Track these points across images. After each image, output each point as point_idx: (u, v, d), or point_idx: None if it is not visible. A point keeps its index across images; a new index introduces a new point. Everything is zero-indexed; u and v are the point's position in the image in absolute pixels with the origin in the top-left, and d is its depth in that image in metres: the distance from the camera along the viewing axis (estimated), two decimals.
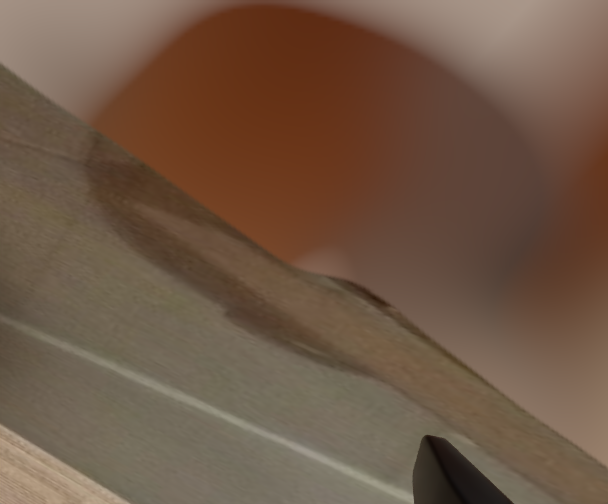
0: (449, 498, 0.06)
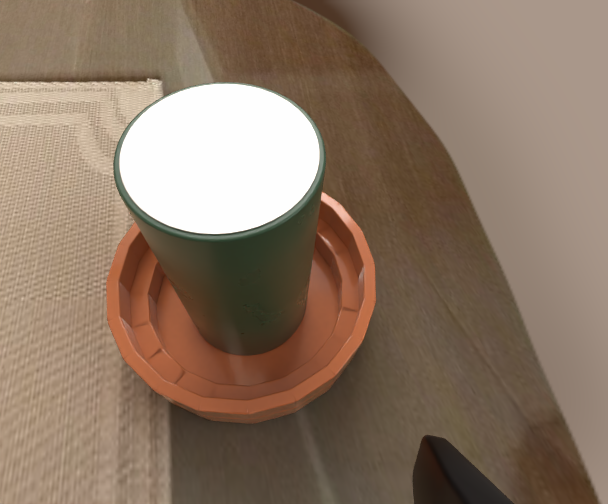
0: (449, 498, 0.06)
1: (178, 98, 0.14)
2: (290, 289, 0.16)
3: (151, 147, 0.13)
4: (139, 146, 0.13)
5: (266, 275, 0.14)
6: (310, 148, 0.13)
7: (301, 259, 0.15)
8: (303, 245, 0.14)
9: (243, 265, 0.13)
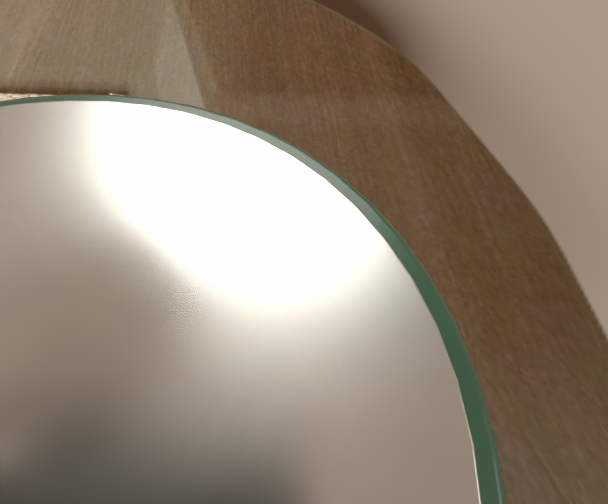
0: None
1: None
2: None
3: None
4: None
5: None
6: (427, 431, 0.03)
7: None
8: None
9: None
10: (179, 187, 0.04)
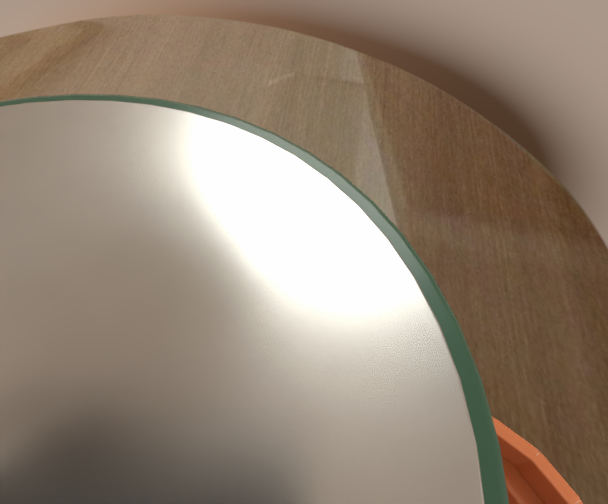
0: None
1: None
2: None
3: None
4: None
5: None
6: (429, 430, 0.03)
7: None
8: None
9: None
10: (181, 186, 0.04)
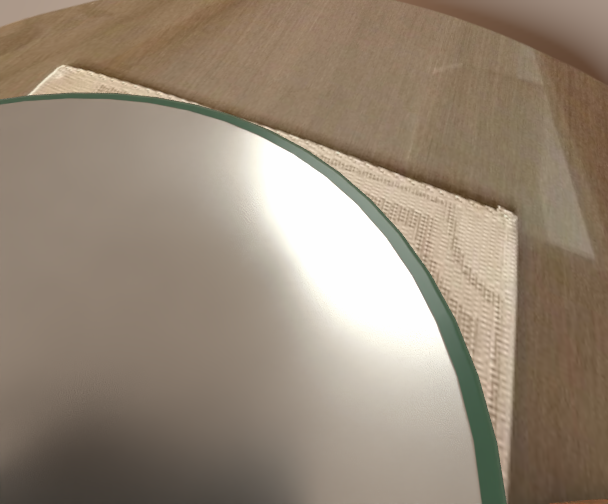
0: None
1: None
2: None
3: None
4: None
5: None
6: (426, 427, 0.03)
7: None
8: None
9: None
10: (179, 185, 0.04)
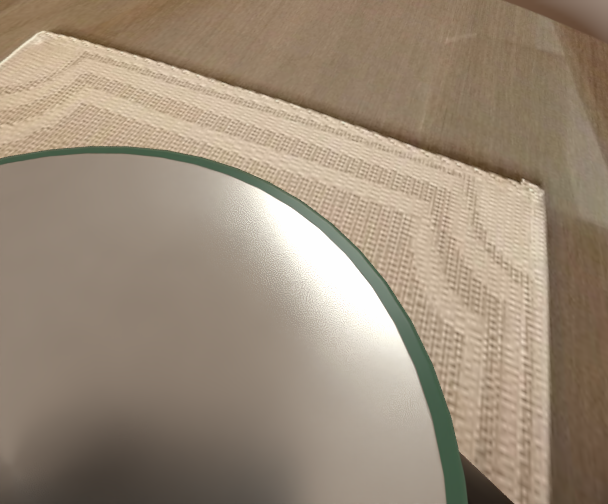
0: None
1: None
2: None
3: None
4: None
5: None
6: (404, 464, 0.03)
7: None
8: None
9: None
10: (188, 238, 0.04)
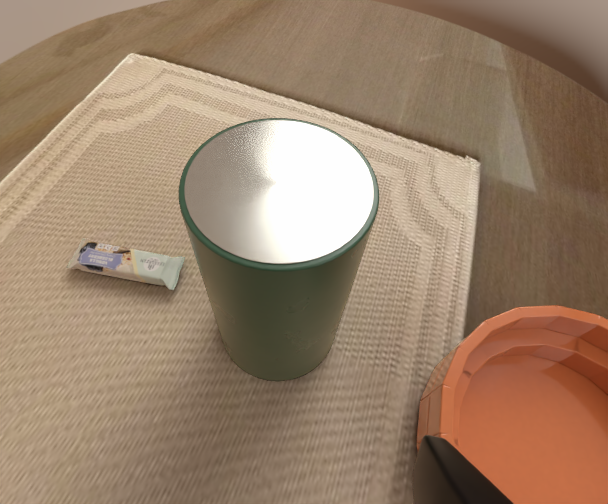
0: (449, 498, 0.06)
1: (239, 131, 0.15)
2: (330, 318, 0.17)
3: (215, 177, 0.13)
4: (203, 175, 0.13)
5: (314, 304, 0.14)
6: (364, 185, 0.14)
7: (345, 290, 0.15)
8: (350, 277, 0.15)
9: (295, 294, 0.13)
10: (308, 141, 0.14)
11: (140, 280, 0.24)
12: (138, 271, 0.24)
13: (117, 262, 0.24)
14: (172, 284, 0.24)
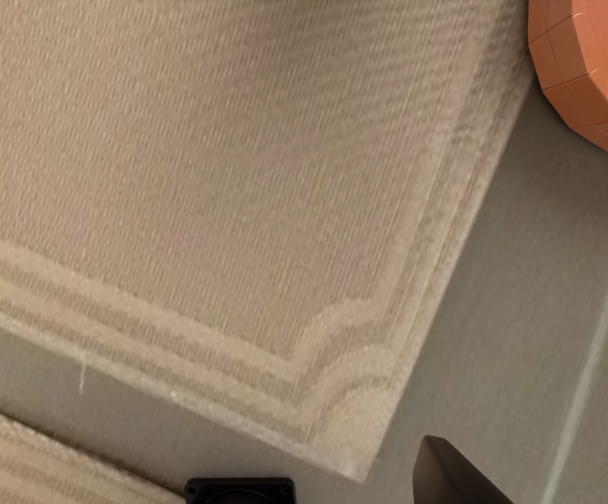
0: (449, 498, 0.06)
1: None
2: None
3: None
4: None
5: None
6: None
7: None
8: None
9: None
10: None
11: None
12: None
13: None
14: None
